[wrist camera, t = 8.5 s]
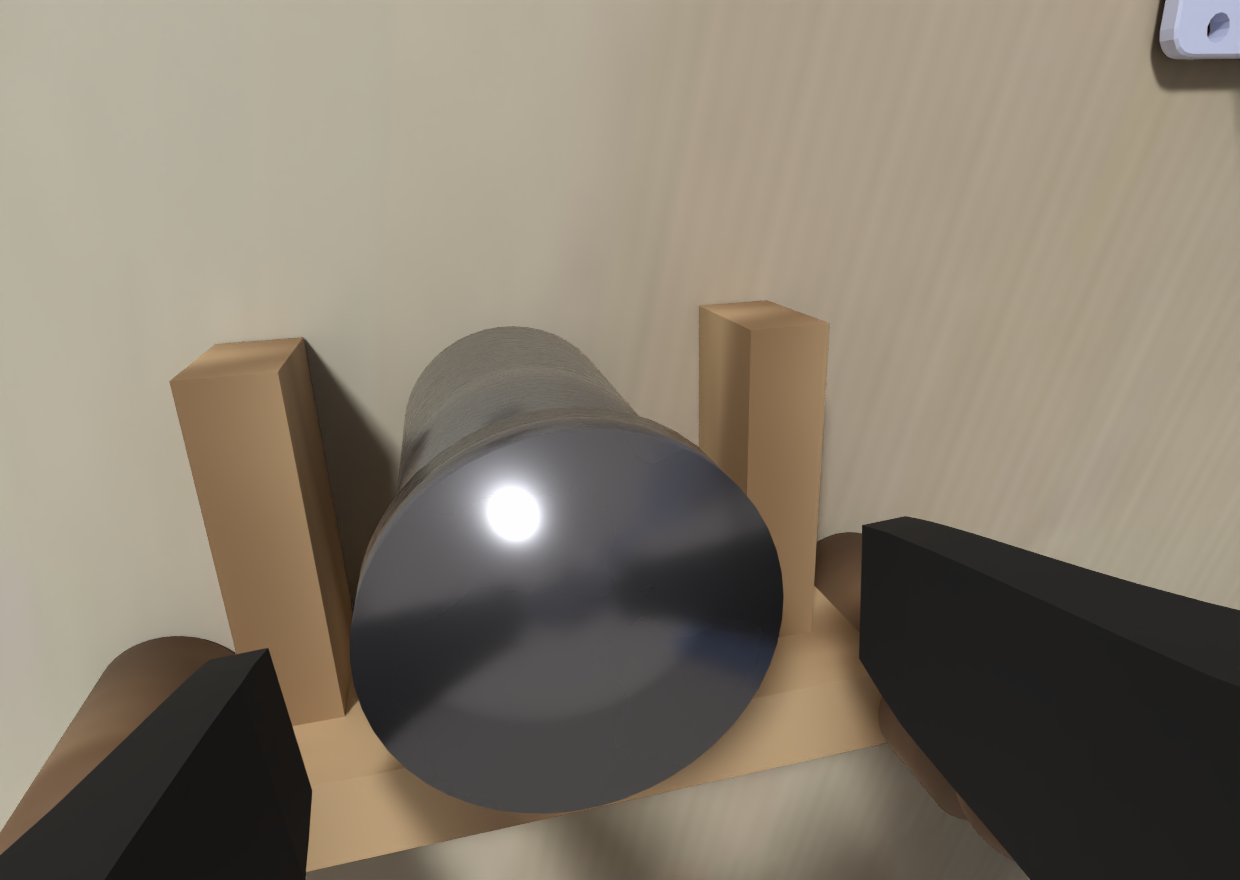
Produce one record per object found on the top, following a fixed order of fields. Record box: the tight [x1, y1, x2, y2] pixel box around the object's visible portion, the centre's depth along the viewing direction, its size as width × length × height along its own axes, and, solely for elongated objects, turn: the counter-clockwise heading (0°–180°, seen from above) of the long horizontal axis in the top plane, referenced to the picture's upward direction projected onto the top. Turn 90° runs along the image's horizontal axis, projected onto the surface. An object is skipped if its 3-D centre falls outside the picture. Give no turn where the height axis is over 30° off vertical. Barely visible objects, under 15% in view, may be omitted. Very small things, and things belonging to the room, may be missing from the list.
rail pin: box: [350, 326, 784, 814], centre depth 11 cm, size 5×5×7 cm
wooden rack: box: [0, 301, 1015, 872], centre depth 12 cm, size 17×8×7 cm, turn 92°
